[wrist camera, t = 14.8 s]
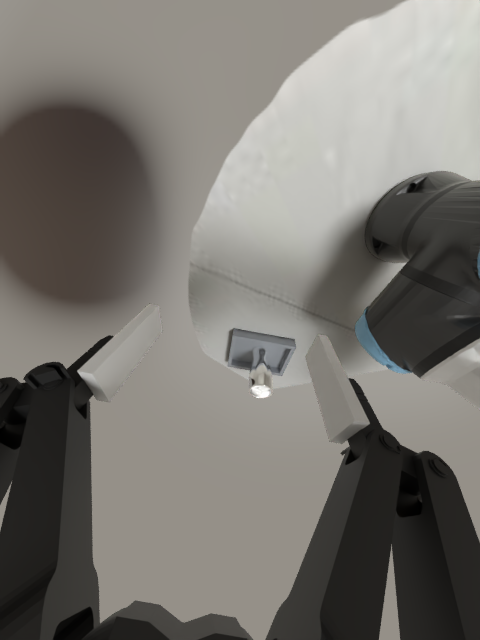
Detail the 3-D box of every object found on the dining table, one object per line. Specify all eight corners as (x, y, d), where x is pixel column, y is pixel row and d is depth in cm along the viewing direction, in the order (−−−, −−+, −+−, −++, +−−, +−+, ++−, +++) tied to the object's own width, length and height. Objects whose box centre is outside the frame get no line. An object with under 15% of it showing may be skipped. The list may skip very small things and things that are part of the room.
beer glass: (271, 358, 60) (274, 399, 48) (252, 359, 61) (250, 399, 49) (269, 344, 56) (272, 384, 44) (249, 345, 57) (245, 384, 45)
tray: (294, 339, 55) (296, 347, 52) (281, 368, 64) (281, 376, 61) (234, 328, 55) (232, 335, 52) (228, 358, 64) (227, 366, 61)
